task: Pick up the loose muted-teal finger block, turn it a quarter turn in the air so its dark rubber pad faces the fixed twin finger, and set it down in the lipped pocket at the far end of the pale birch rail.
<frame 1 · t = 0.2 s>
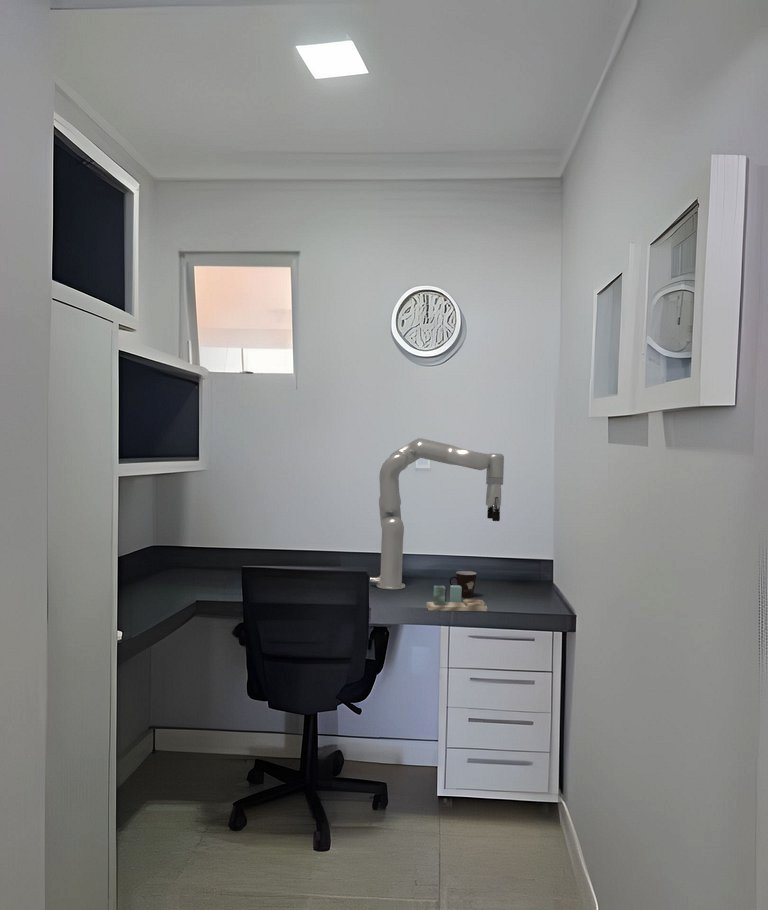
hand: (493, 519, 358), 31 cm above the table, fingers open, 9 cm apart
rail: (456, 608, 318), on the table
finger: (455, 603, 327), on the table
coffee mug: (462, 596, 341), on the table
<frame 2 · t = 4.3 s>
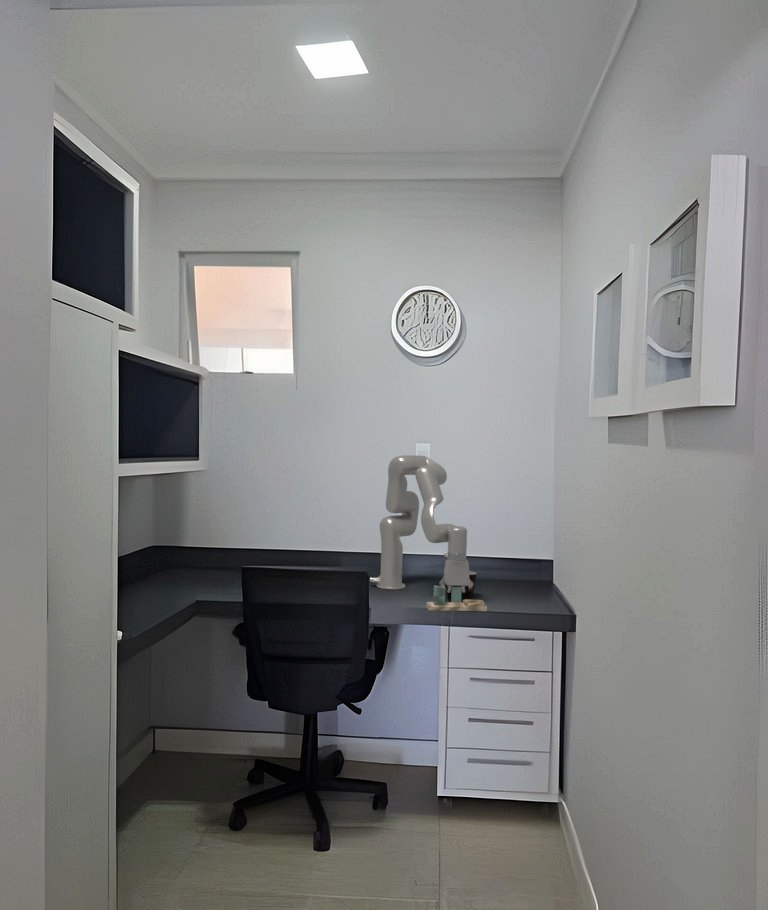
hand: (455, 601, 327), 1 cm above the table, fingers closed on finger, 4 cm apart
finger: (455, 603, 327), on the table, touching gripper
everything else where it was.
when the fingers open (4 cm above the table, at t = 9.2 s): finger drops 1 cm, resting on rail.
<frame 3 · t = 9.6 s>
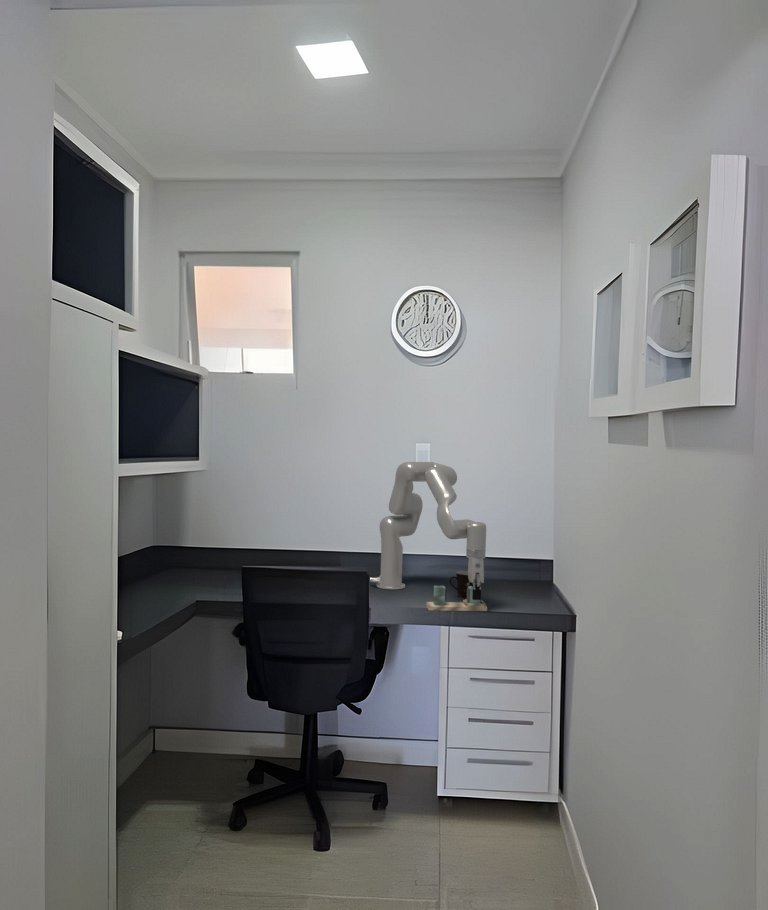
hand: (474, 597, 318), 5 cm above the table, fingers open, 8 cm apart
finger: (473, 604, 319), point 1 cm above the table, touching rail
everything else where it was.
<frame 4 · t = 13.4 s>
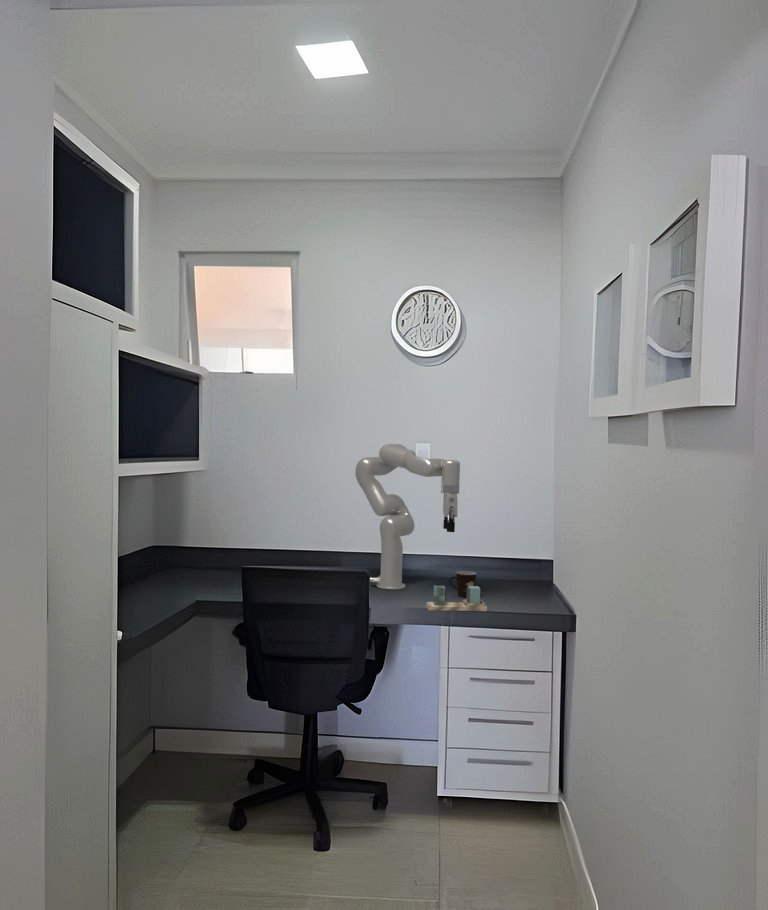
hand: (448, 530, 337), 28 cm above the table, fingers open, 9 cm apart
nothing on the table moved.
at the end: finger 0.1 cm from the target spot on the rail, point 1.5 cm above the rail's base; finger tilted 0°; the gripper is holding nothing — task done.
